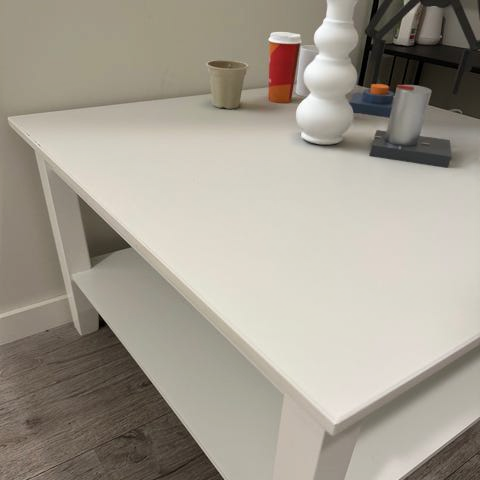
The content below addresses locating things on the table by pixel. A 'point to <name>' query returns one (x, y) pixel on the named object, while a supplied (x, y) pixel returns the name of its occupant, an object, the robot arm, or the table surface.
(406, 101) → the dial
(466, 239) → the table surface
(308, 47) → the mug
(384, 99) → the block
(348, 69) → the vase
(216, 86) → the flower pot
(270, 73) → the paper cup
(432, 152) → the control panel
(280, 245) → the table surface
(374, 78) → the robot arm
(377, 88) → the button
